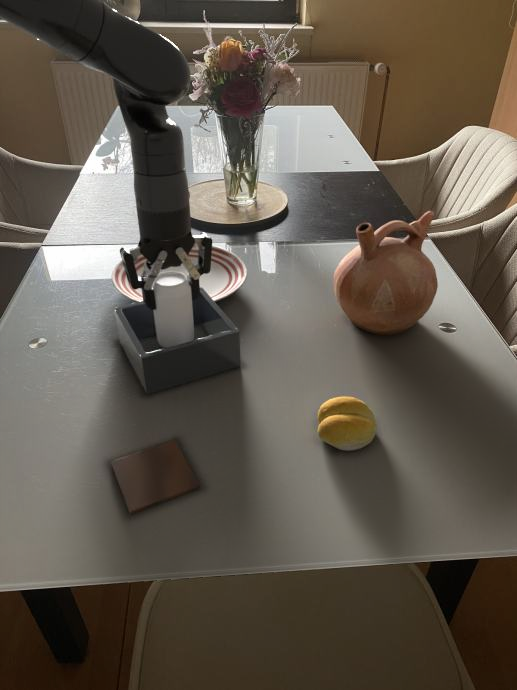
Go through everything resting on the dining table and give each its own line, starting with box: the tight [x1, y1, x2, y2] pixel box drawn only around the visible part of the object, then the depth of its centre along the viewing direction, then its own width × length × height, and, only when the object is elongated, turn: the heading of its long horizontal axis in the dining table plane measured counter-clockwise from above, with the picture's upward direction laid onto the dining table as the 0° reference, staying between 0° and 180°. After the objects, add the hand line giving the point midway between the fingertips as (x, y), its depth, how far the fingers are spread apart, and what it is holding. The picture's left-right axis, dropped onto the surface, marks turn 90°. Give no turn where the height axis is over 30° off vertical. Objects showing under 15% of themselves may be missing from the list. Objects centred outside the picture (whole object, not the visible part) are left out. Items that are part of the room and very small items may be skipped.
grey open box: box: [113, 287, 241, 395], centre depth 89 cm, size 16×16×7 cm
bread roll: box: [317, 396, 378, 452], centre depth 75 cm, size 8×9×4 cm
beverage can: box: [152, 271, 195, 348], centre depth 86 cm, size 6×6×12 cm
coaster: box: [110, 439, 200, 515], centre depth 69 cm, size 9×9×1 cm
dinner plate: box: [111, 244, 248, 303], centre depth 111 cm, size 27×27×3 cm
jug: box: [333, 210, 439, 336], centre depth 95 cm, size 18×18×20 cm
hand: (172, 302), depth 85 cm, fingers closed on beverage can, 6 cm apart
